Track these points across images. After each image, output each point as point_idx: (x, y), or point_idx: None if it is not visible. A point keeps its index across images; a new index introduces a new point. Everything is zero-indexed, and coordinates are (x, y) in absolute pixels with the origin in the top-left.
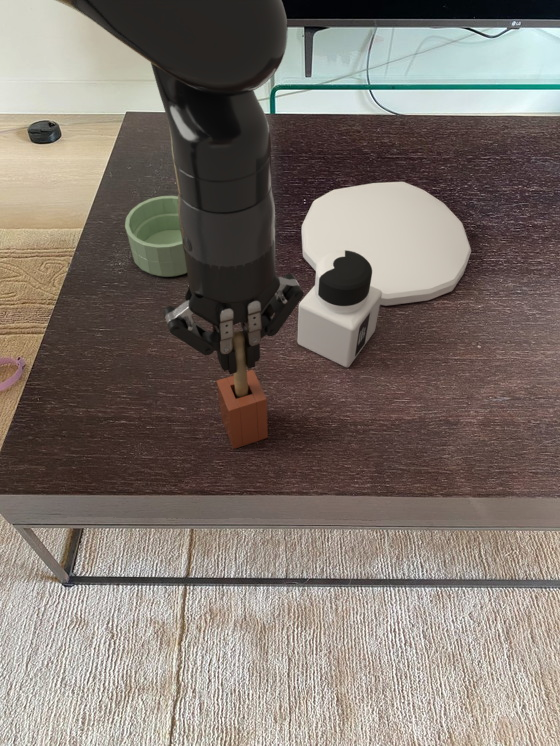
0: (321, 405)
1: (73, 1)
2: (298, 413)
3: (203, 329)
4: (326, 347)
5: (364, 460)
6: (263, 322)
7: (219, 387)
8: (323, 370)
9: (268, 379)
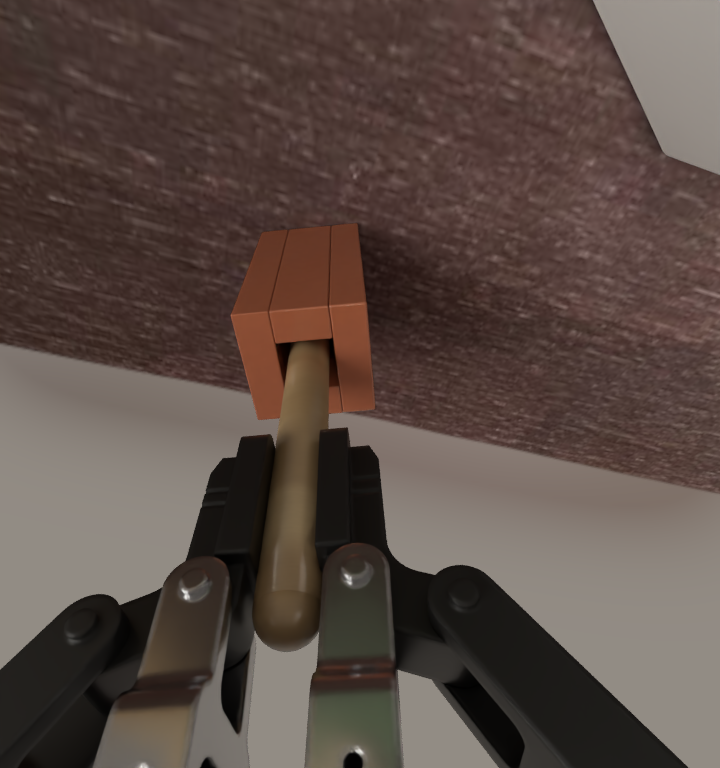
0: (525, 256)
1: None
2: (460, 263)
3: (86, 682)
4: (661, 96)
5: (536, 401)
6: (437, 666)
7: (238, 343)
8: (597, 137)
9: (426, 121)
